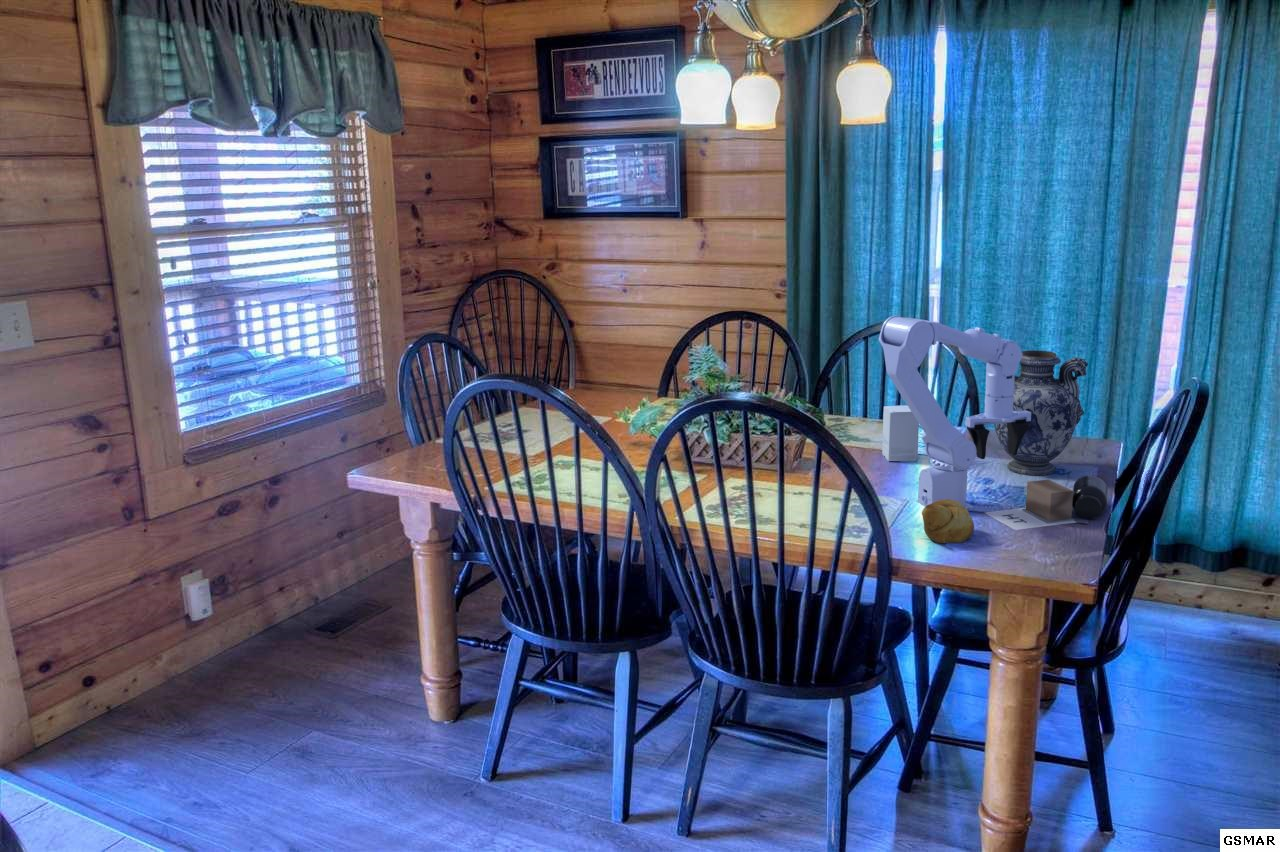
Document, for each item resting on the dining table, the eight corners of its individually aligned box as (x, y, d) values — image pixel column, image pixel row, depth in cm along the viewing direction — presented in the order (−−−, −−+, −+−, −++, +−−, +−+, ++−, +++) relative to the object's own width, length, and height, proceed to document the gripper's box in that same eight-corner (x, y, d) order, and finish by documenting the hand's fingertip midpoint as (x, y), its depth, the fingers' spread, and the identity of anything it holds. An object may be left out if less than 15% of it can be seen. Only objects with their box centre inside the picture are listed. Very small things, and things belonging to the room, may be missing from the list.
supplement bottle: (1066, 495, 219) (1062, 512, 208) (1083, 468, 216) (1080, 484, 206) (1097, 511, 217) (1095, 529, 207) (1114, 485, 214) (1113, 501, 204)
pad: (1047, 523, 206) (1047, 522, 206) (1021, 510, 214) (1022, 508, 214) (1073, 520, 207) (1073, 519, 207) (1047, 507, 215) (1047, 505, 215)
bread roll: (924, 523, 210) (926, 485, 208) (974, 527, 207) (976, 489, 205) (919, 545, 198) (921, 505, 196) (972, 550, 195) (974, 510, 193)
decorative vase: (1081, 462, 248) (1089, 347, 240) (1078, 485, 231) (1086, 363, 224) (988, 454, 256) (993, 343, 249) (979, 476, 240) (984, 358, 233)
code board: (1014, 532, 203) (1015, 529, 203) (984, 515, 213) (984, 512, 213) (1077, 525, 206) (1077, 522, 206) (1043, 508, 217) (1043, 505, 216)
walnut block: (1049, 521, 206) (1051, 493, 204) (1025, 509, 214) (1027, 481, 212) (1071, 519, 207) (1073, 490, 206) (1046, 506, 215) (1048, 479, 213)
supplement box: (918, 461, 253) (920, 411, 250) (887, 462, 253) (889, 412, 250) (911, 453, 260) (912, 404, 257) (881, 454, 260) (883, 405, 257)
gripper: (979, 401, 213) (976, 464, 217) (1041, 395, 216) (1037, 457, 220) (961, 394, 220) (958, 455, 223) (1021, 388, 223) (1018, 448, 226)
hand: (996, 456), depth 222 cm, fingers open, 7 cm apart
